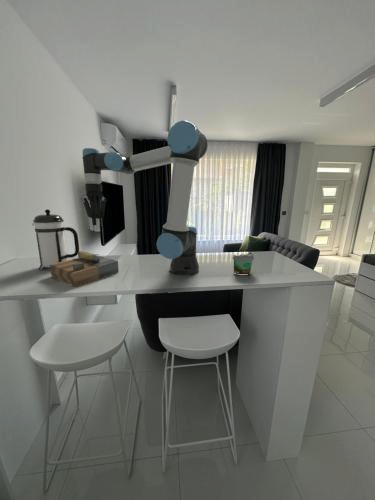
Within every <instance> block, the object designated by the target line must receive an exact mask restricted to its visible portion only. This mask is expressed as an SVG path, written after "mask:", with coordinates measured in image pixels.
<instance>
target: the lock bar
mask: <svg viewBox="0 0 375 500" xmlns="http://www.w3.org/2000/svg"><path fill="white" fill-rule="evenodd" d="M77 258H81V259H85V260H88V261H91V262H92V263H98V262H100V254H95V253H92V252H87V251H84V250H79V252H78V255H77Z"/></svg>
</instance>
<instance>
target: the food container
mask: <svg viewBox="0 0 375 500" xmlns="http://www.w3.org/2000/svg"><path fill="white" fill-rule="evenodd" d="M254 256H255V255H254V254H253V253H252V252H251V251H249V253H247V254H239V255H235V254H233V256H232V260H233V274H234V273H236V274H249V273H250V274H251V271H252V266H253V265H252V264H253V261H254V259H255V257H254ZM250 274H249V275H250Z"/></svg>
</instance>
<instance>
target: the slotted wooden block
mask: <svg viewBox="0 0 375 500" xmlns="http://www.w3.org/2000/svg"><path fill="white" fill-rule="evenodd" d="M99 256H100V255H99ZM49 269H50V273H51V277H52V278H54V279H56V280H59V281H60V282H63V283H65V284H68V285H70V286H72V287H79V286H82V285H85V284H88V283H92V282H94V280H95V281H97V279H98V280H100V278H101V279H103V277H104V278H106V277H105V276H107V277H109V275H110V276H113V275H116V274H119V272H120V271H119V261H118V260H116V259H111V258H108V257H104V256H100V262H98V263H92V262H91V261H88V260H85V259H81V258H78V257H77V258H76V257H75V258H72V259H69V260H68V259H67V261H63V262H58V263H54V264H50V267H49ZM112 274H113V275H112Z"/></svg>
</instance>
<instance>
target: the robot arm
mask: <svg viewBox="0 0 375 500" xmlns="http://www.w3.org/2000/svg"><path fill="white" fill-rule="evenodd" d="M166 141H167V146H163V147H160V148H159V147H158V148H155V149H151V150H148V151H145V152H141V153H137V154H133V155H130V156H122V155H121V154H120V153H119V152H114V151H109V152H108V151H107V152H100V151H99V149H98V148H97V149H96V148H92V147H86V148H83V149H82V157H81V158H82V165H83V176H84V182H85V184H84V187H85V189H84V190H85V192H86V193H85V196H83V197H81V201H82V202H83V205H84V208H85V211H86V214H87V217H88V218H90V219H91V220H92V221H91V222H92V226H93V231H94V232H96V233H97V232H101V225H102V221H101V220H102V218H104V217H105V213H106V212H105V210H106V203H107V202H108V198H107V197H104V195H103V185H102V184H101V183H102V182H103V181H102V171H112V172H117V173H122V174H126V175H133V174H135V173H136V172H138V171H143V170H148V169H152V168H157V167H161V166H166V165H170V164H173V165H172V173H171V182H170V189H169V199H168V207H167V208H168V209H167V215H166V216H167V217H166V222H165V224H163V225H162V229H161V234H160V235H159V236H158V238H157V240H156V249H157V252H159V254H160V255H161V257H163V258H166V259H169V260H171V262H170V265H169V270H170V272H171V273H173V274H177V275H193V274H197V273H198V272H199V271H200V266H199V262H198V258H197V239H198V238H197V236H198V232H197V227H196V226H187V221H188V215H189V210H190V209H189V206H190V201H191V193H192V186H193V185H192V184H193V179H194V174H195V173H194V171H195V167H196V166H197V165H199V163H200V159H202V158H203V157H204V156H205V155H206V153H207V150H208V139H207V136H206V135H205V134H204V133H203V132H202V131H201V130H200V129H199V128H198V126H197V125H196V124H195V123H192V122H191V121H189V120H180V121H177V122H175V123H174V124H173V125H172V126H171V127H170V129H169V131H168V133H167V140H166Z"/></svg>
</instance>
